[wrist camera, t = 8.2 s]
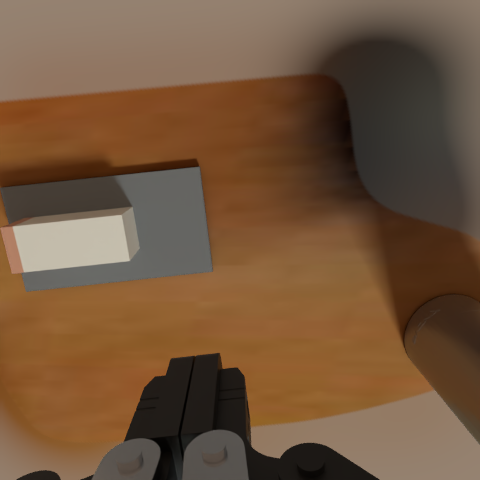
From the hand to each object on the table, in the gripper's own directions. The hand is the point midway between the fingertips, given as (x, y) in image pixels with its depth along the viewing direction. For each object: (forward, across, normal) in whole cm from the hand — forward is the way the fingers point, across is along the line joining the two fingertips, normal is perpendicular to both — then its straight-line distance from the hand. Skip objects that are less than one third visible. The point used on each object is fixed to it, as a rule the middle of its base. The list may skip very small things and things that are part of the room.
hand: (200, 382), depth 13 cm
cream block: (+24, +8, 0) cm, 25 cm away
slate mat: (+26, +11, 0) cm, 28 cm away
